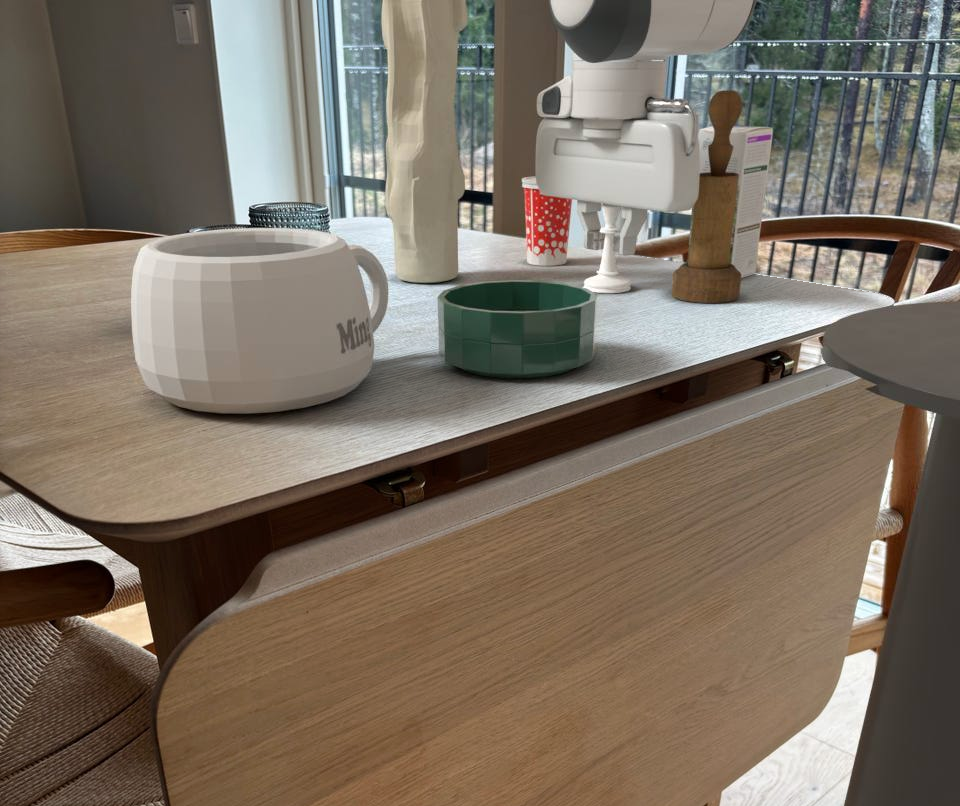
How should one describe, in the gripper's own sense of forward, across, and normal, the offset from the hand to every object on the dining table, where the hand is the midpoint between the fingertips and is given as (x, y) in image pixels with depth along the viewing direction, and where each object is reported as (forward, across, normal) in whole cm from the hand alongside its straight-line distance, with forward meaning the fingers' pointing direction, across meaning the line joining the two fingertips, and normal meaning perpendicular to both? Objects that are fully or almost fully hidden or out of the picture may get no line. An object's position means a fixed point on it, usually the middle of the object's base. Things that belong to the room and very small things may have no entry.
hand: (609, 251), depth 100 cm
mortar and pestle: (+4, -9, -5) cm, 11 cm away
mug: (+4, -11, +42) cm, 44 cm away
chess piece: (+4, 0, 0) cm, 4 cm away
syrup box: (+4, -2, -15) cm, 16 cm away
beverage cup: (+4, +16, -5) cm, 17 cm away
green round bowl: (+4, -17, +25) cm, 30 cm away
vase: (+4, +16, +12) cm, 20 cm away
